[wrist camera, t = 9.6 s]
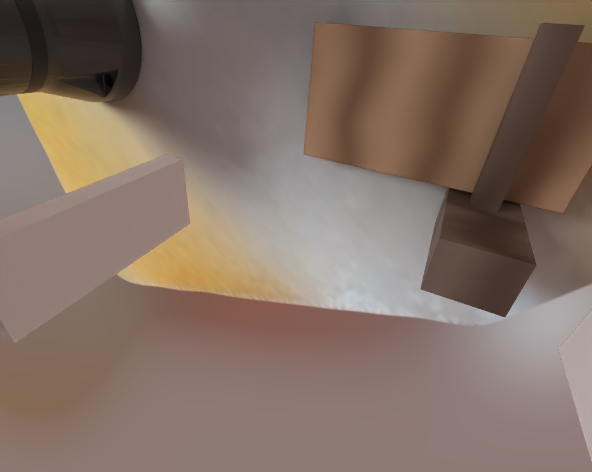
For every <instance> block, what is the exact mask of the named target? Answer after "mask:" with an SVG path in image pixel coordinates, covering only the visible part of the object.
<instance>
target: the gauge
mask: <svg viewBox="0 0 592 472" xmlns="http://www.w3.org/2000/svg"><path fill="white" fill-rule="evenodd" d="M583 28H584V26H583V25H567V24H551V23H543V24H540V26H539V29H538V31H537V34H536V36H535V39H534V41H533V44H532V46H531V49H530V51H529V53H528V56H527V58H526V61H525V63H524V66H523V68H522V71H521V73H520V76H519V78H518V81H517V83H516V86H515V88H514V91H513V93H512V96H511V98H510V101H509V103H508V106H507V108H506V111H505V113H504V116H503V118H502V121H501V123H500V126H499V128H498V131H497V133H496V136H495V138H494V140H493V143H492V145H491V148H490V150H489V153H488V155H487V158H486V160H485V163H484V165H483V168H482V170H481V173H480V175H479V178H478V180H477V183H476V185H475V188H474V190H473V193H471V192H467V191H462V190H458V189H453V188H449V187H448V189H447V192H446V195H445V198H444V200H443V203H442V206H441V209H440V212H439V215H438V217H437V220H436V223H435V227H434V232H433V236H432V240H431V245H430V249H429V254H428V258H427V263H426V267H425V271H424V276H423V280H422V285H421V289H422V290H425V291H428V292H431V293H434V294H437V295H440V296H443V297H446V298H449V299H452V300H455V301H458V302H461V303H464V304H467V305H470V306H473V307H476V308H479V309H482V310H485V311H488V312H491V313H494V314H497V315H499V316H502V317H506V315H507V313H508V312H509V310H510V308H511V307H512V305H513V303H514V302H515V300H516V298H517V297H518V295H519V293H520V292H521V290H522V288H523V287H524V285H525V283H526V282H527V280H528V278H529V277H530V275H531V273H532V271H533V270H534V268H535V266H536V263H535V259H534V255H533V252H532V248H531V244H530V241H529V237H528V233H527V230H526V226H525V222H524V219H523V215H522V211H521V208H520V204H519V203H515V202H511V201H506V200H504V198H505V196H506V194H507V191H508V189H509V187H510V185H511V183H512V181H513V178H514V176H515V174H516V172H517V170H518V168H519V166H520V163H521V161H522V159H523V157H524V155H525V153H526V151H527V148H528V146H529V144H530V142H531V140H532V138H533V136H534V133H535V131H536V129H537V127H538V125H539V123H540V120H541V118H542V116H543V114H544V112H545V110H546V108H547V105H548V103H549V101H550V99H551V97H552V95H553V93H554V90H555V88H556V86H557V84H558V82H559V80H560V78H561V75H562V73H563V71H564V69H565V67H566V65H567V62H568V60H569V58H570V56H571V54H572V52H573V50H574V47H575V45H576V43H577V41H578V39H579V37H580V35H581V32H582V30H583Z"/></svg>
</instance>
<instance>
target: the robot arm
mask: <svg viewBox="0 0 592 472" xmlns="http://www.w3.org/2000/svg"><path fill="white" fill-rule="evenodd" d="M140 61H141V44H140V35H139V29H138V24H137V19H136V16H135V12H134V9H133V6H132V3H131V1H130V0H0V96H7V95H14V94H23V93H32V92H43V93H48V94H53V95H58V96H63V97H69V98H74V99H79V100H84V101H89V102H105V101H112V100H117V99H120V98H122V97H124V96H126V95H127V94H128V93H129V92H130V91H131V89H132V88H133V86H134V84H135V82H136V80H137V77H138V73H139V69H140ZM189 224H190V219H189V210H188V202H187V193H186V185H185V177H184V168H183V160H182V159H181V158H177V157H173V156H170V155H163V156H161V157H158V158H156V159H153V160H151V161H148V162H145V163H143V164H140V165H138V166H135V167H133V168H130V169H128V170H125V171H123V172H120V173H118V174H115V175H113V176H110V177H108V178H105V179H103V180H100V181H98V182H95V183H93V184H90V185H88V186H85V187H82V188H80V189H77V190H75V191H72V192H70V193H67V194H65V195H62V196H60V197H57V198H55V199H52V200H50V201H47V202H45V203H42V204H40V205H37V206H35V207H32V208H30V209H27V210H25V211H22V212H20V213H17V214H15V215H12V216H9V217H7V218H5V219H2V220H0V334H1V335H2V336H4V337H6V338H7V339H9V340H11V341H12V342H14V343H16V342H17V341H19V340H20V339H22V338H23V337H25V336H26V335H28V334H29V333H30V332H32V331H33V330H35V329H36V328H38V327H39V326H41V325H42V324H43V323H45V322H47V321H48V320H49V319H51V318H52V317H54V316H55V315H57V314H58V313H60V312H61V311H63V310H64V309H66V308H67V307H69V306H70V305H71V304H73V303H74V302H76V301H77V300H79V299H80V298H82V297H83V296H84V295H86V294H88V293H89V292H90V291H92V290H93V289H95V288H96V287H98V286H99V285H101V284H102V283H104V282H105V281H107V280H108V279H109V278H111V277H112V276H114V275H115V274H117V273H118V272H120V271H121V270H123V269H124V268H126V267H127V266H129V265H130V264H132V263H133V262H134V261H136V260H137V259H139V258H140V257H142V256H143V255H145V254H146V253H148V252H149V251H151V250H152V249H153V248H155V247H156V246H158V245H159V244H161V243H162V242H164V241H165V240H167V239H168V238H170V237H171V236H172V235H174V234H175V233H177V232H178V231H180V230H181V229H183V228H184V227H186V226H187V225H189ZM559 353H560V356H561V360H562V363H563V366H564V370H565V373H566V376H567V380H568V383H569V387H570V390H571V393H572V397H573V400H574V403H575V406H576V410H577V413H578V417H579V420H580V423H581V427H582V430H583V433H584V437H585V440H586V443H587V446H588V450H589V453H590V457H591V460H592V310H591V311H590V312H589V314H588V315H587V316H586V317H585V318H584V319H583V321H582V322H581V323H580V324H579V325H578V327H577V328H576V329H575V330H574V331H573V332H572V334H571V335H570V336H569V337H568V338H567V340H566V341H565V342H564V343H563V344H562V346H561V347H560V348H559Z"/></svg>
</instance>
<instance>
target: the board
mask: <svg viewBox="0 0 592 472" xmlns="http://www.w3.org/2000/svg"><path fill="white" fill-rule="evenodd" d="M533 41H534V39H529V38H516V37H503V36H490V35H477V34H464V33H451V32H438V31H425V30H412V29H399V28H386V27H373V26H360V25H347V24H334V23H321V22H315V29H314V41H313V52H312V64H311V75H310V87H309V98H308V110H307V121H306V133H305V144H304V155H308V156H312V157H317V158H321V159H326V160H330V161H334V162H339V163H343V164H348V165H352V166H356V167H361V168H365V169H370V170H374V171H378V172H383V173H387V174H392V175H396V176H401V177H405V178H409V179H414V180H418V181H423V182H427V183H431V184H436V185H440V186H445V187H449V188H453V189H458V190H462V191H467V192H471V193H473V190H474V188H475V185H476V183H477V180H478V178H479V175H480V173H481V170H482V168H483V165H484V163H485V160H486V158H487V155H488V153H489V150H490V148H491V145H492V143H493V140H494V138H495V136H496V133H497V131H498V128H499V126H500V123H501V121H502V118H503V116H504V113H505V111H506V108H507V106H508V103H509V101H510V98H511V96H512V93H513V91H514V88H515V86H516V83H517V81H518V78H519V76H520V73H521V71H522V68H523V66H524V63H525V61H526V58H527V56H528V53H529V51H530V49H531V46H532V44H533ZM591 165H592V43H581V42H577V43H576V45H575V47H574V50H573V52H572V54H571V56H570V58H569V60H568V62H567V65H566V67H565V69H564V71H563V73H562V75H561V78H560V80H559V82H558V84H557V86H556V88H555V90H554V93H553V95H552V97H551V99H550V101H549V103H548V105H547V108H546V110H545V112H544V114H543V116H542V118H541V120H540V123H539V125H538V127H537V129H536V131H535V133H534V136H533V138H532V140H531V142H530V144H529V146H528V148H527V151H526V153H525V155H524V157H523V159H522V161H521V163H520V166H519V168H518V170H517V172H516V174H515V176H514V178H513V181H512V183H511V185H510V187H509V189H508V191H507V194H506V196H505V198H504V200H506V201H511V202H515V203H520V204H524V205H528V206H533V207H537V208H542V209H546V210H550V211H555V212H559V213H563V212H564V211H565V209H566V207H567V206H568V204H569V202H570V200H571V199H572V197H573V195H574V194H575V192H576V190H577V189H578V187H579V185H580V184H581V182H582V180H583V178H584V177H585V175H586V173H587V172H588V170H589V168H590V167H591Z"/></svg>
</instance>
